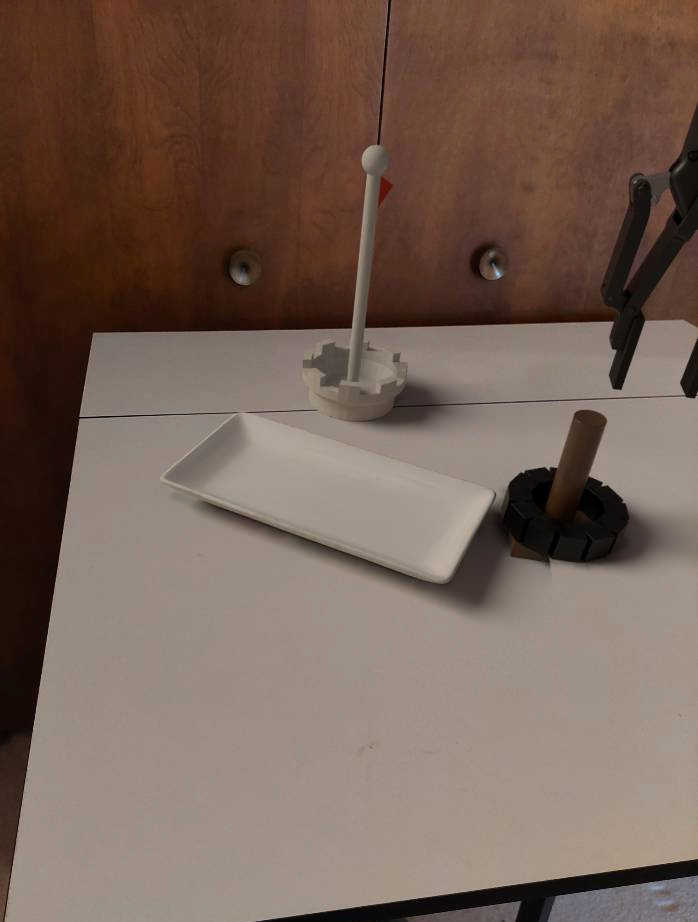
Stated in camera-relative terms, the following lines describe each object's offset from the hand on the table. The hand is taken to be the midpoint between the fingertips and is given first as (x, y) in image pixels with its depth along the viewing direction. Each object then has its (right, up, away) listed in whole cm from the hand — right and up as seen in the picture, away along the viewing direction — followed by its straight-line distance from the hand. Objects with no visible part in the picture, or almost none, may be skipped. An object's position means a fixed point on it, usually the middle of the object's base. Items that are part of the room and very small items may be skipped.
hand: (651, 386), depth 71 cm
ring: (-4, -12, +11) cm, 17 cm away
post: (-5, -13, +12) cm, 18 cm away
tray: (-28, -11, +13) cm, 33 cm away
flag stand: (-24, +4, +32) cm, 40 cm away
